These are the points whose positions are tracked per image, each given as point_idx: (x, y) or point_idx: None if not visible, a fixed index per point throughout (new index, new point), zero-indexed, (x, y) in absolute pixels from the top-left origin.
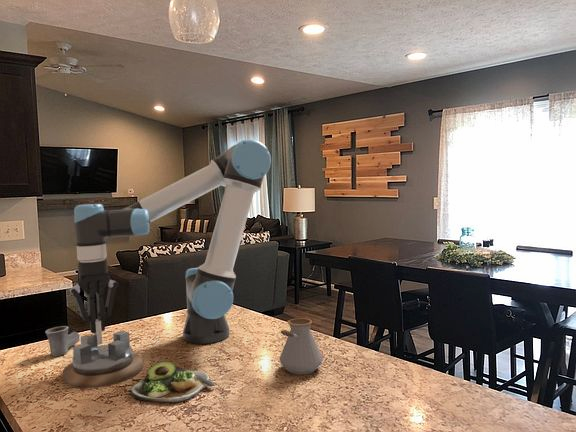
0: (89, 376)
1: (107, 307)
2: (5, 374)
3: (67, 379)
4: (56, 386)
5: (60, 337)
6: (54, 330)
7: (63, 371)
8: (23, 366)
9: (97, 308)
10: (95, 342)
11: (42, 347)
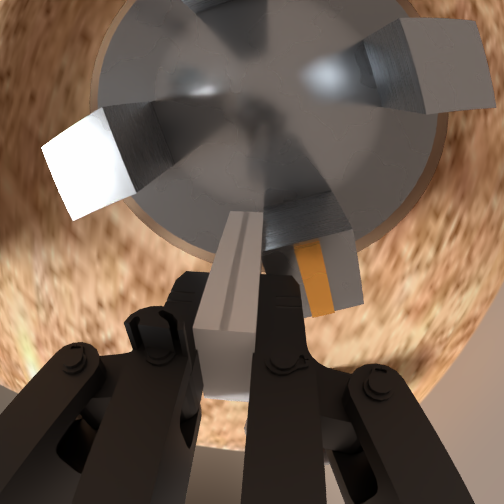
0: None
1: (52, 449)
2: (474, 328)
3: None
4: None
5: None
6: (326, 455)
7: (434, 164)
8: (426, 355)
9: (182, 499)
10: (276, 223)
11: None
